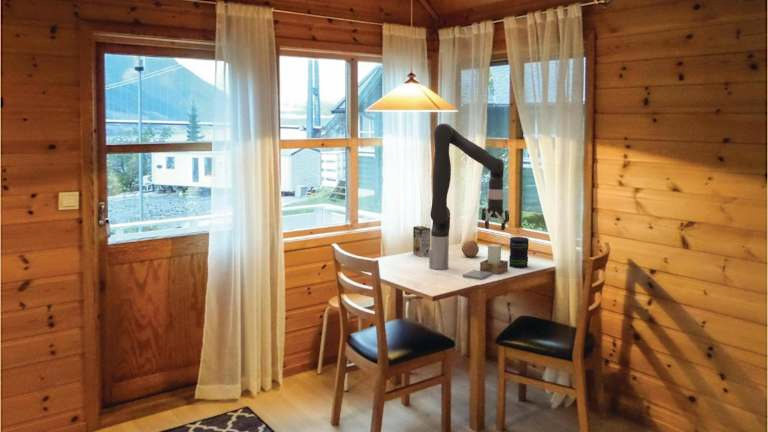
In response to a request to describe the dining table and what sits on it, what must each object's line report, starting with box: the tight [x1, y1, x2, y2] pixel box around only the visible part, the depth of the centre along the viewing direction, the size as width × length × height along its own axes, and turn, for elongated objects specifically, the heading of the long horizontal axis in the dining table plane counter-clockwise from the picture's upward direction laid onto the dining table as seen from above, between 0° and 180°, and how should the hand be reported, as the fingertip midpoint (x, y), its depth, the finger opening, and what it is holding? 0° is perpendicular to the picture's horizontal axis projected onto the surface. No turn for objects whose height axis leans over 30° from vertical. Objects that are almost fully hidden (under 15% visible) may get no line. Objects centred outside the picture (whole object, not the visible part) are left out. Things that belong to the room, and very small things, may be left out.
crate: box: [479, 258, 509, 275], centre depth 340 cm, size 11×11×5 cm
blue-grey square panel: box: [462, 269, 493, 281], centre depth 331 cm, size 10×12×1 cm
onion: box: [461, 240, 480, 258], centre depth 375 cm, size 10×9×10 cm
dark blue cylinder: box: [508, 236, 530, 269], centre depth 351 cm, size 10×10×15 cm
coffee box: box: [412, 225, 431, 258], centre depth 378 cm, size 9×6×16 cm
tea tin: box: [487, 243, 502, 264], centre depth 340 cm, size 5×5×14 cm
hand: (495, 229), depth 337 cm, fingers open, 8 cm apart
